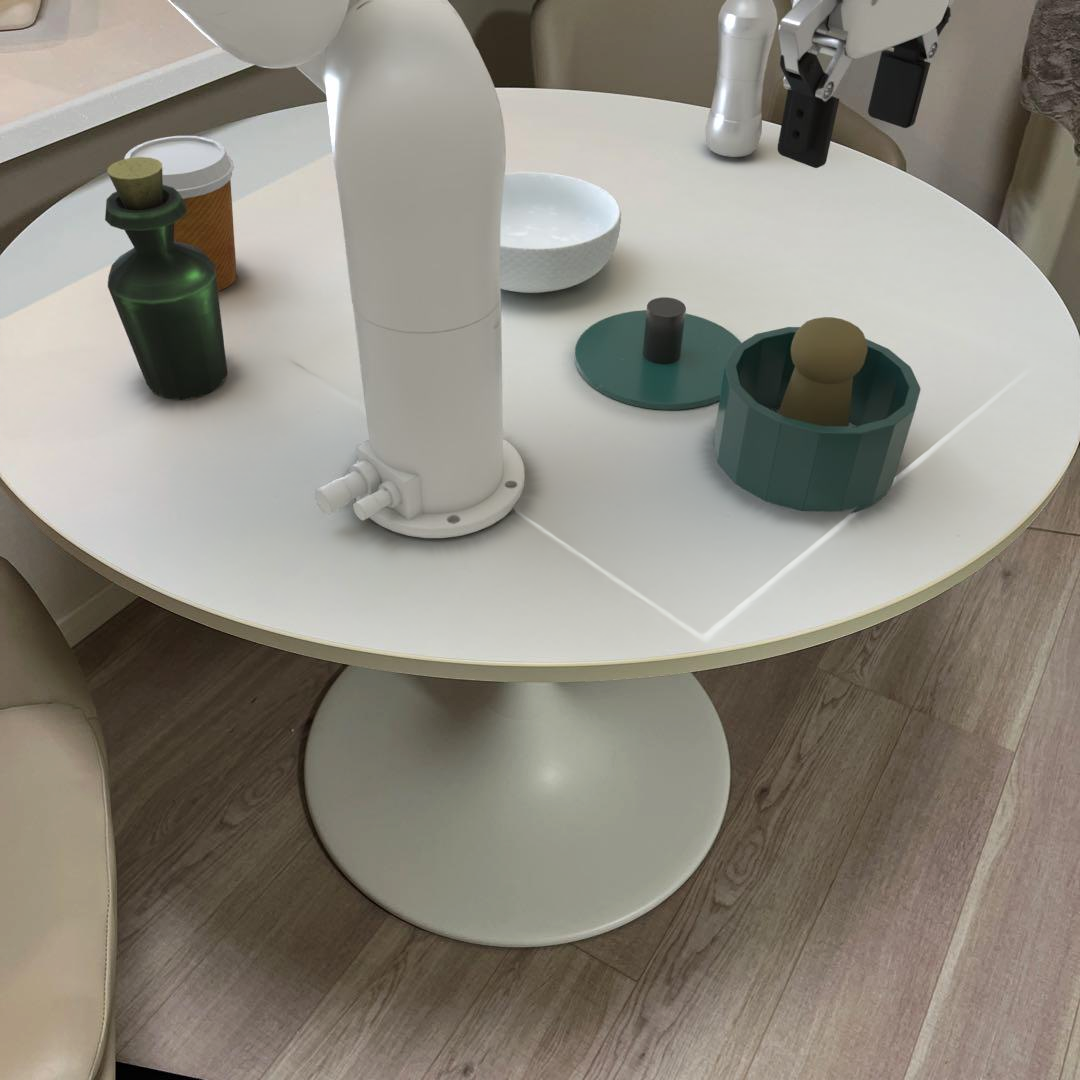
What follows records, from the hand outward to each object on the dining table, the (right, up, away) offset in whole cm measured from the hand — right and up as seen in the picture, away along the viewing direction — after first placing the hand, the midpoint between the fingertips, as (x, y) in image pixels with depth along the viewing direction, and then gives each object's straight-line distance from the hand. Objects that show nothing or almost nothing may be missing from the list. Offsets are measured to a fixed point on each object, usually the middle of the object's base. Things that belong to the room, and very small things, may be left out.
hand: (846, 140), depth 66 cm
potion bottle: (-49, -12, +22) cm, 55 cm away
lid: (-9, -10, +24) cm, 27 cm away
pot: (+1, -19, +15) cm, 24 cm away
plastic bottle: (+3, +20, +58) cm, 62 cm away
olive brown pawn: (+1, -19, +15) cm, 24 cm away
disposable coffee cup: (-51, 0, +35) cm, 62 cm away
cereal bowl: (-20, 0, +36) cm, 41 cm away
